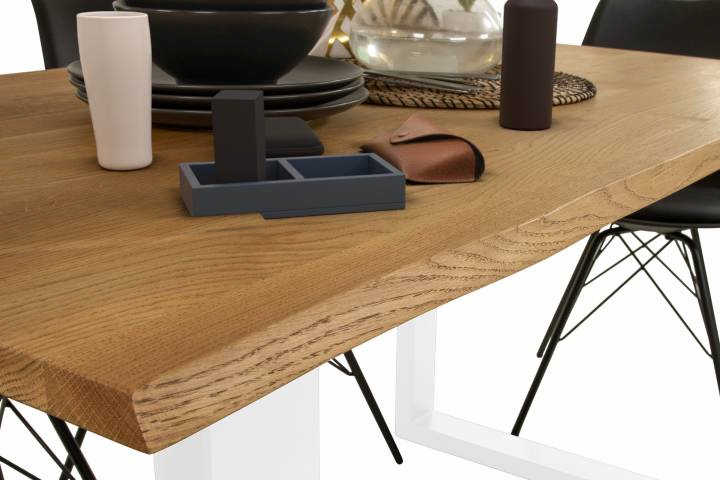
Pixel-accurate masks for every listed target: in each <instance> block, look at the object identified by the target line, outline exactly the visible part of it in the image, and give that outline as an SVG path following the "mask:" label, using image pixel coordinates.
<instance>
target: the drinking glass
mask: <svg viewBox="0 0 720 480" xmlns="http://www.w3.org/2000/svg"><path fill="white" fill-rule="evenodd" d="M76 29H77V42H78V43H77V44H78V52H79V59H80V65H81V70H82V76H83V81H84V87H85V91H86V96H87V102H88V108H89V113H90V119H91V123H92V129H93V134H94V140H95V147H96V157H97V163H98V165H99V166H100V167H102V168H104V169H106V170H110V171H111V170H112V171H133V170H140V169H144V168H147V167H148V166H150V165H151V164H152V162H153V157H154V156H153V146H152V145H153V144H152V105H153V103H152V102H153V101H152V100H153V99H152V97H153V95H152V93H153V92H152V91H153V90H152V89H153V87H152V85H153V55H152V38H151V30H150V22H149V15H148V13H145V12H138V11H87V12H80V13H77V14H76Z"/></svg>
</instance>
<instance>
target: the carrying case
mask: <svg viewBox="0 0 720 480" xmlns="http://www.w3.org/2000/svg"><path fill="white" fill-rule="evenodd" d="M264 124H265V149H266V159H270V158H288V157H307V156H324V154H325V146H324V144H323V142H322V141H321V139H320V138H319V137H318V136H317V135H316V133H315V132H314V131H313V130H312V128H311V127H310V126H309V125H308V123H307V122H306V121H305V120H304V119H303V118H301V117H297V116H274V117H269V116H268V117H264Z"/></svg>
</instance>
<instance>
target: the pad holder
mask: <svg viewBox="0 0 720 480" xmlns="http://www.w3.org/2000/svg"><path fill="white" fill-rule="evenodd" d="M266 173H267V181H262V182H246V183H230V184H216V174H215V160H214V161H199V162H198V161H197V162H196V161H195V162H180V163H178V175H179V189H180V198H181V199H182V201H183V204H184V205H185V207H186V209H187V211H188V213H189V215H190V217H194V218H201V217H215V216H229V215H242V214H256V213H259V214H260V216H261V217H262V219H264V220H269V219H270V220H271V219H283V218H297V217H309V216H323V215H336V214H348V213H349V214H351V213H352V214H353V213H365V212H376V211H390V210H403V209H404V210H405V209H406V179H405V176H406V175H405V174H404V173H402V172H401V171H399V170H398V169H396V168H395V167H394V166H392V165H391V164H389V163H388V162H386V161H385V160H383V159H382V158H381V157H379V156H378V155H376V154H375V153H368V152H364V153H345V154H329V155H326V154H325V155H321V156H307V157H288V158H270V159H266Z"/></svg>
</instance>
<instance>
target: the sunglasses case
mask: <svg viewBox="0 0 720 480" xmlns="http://www.w3.org/2000/svg"><path fill="white" fill-rule="evenodd" d="M358 149H360V150H362V151H365V153H375V154H376V155H378V156H379V157H381V158H382V159H383V160H385V161H386V162H388V163H389V164H391V165H392V166H394V167H395V168H396V169H398V170H399V171H401V172H402V173H404V174H405V175H406V176H405V181H411V182H414V183H427V184H439V185H440V184H457V183H462V184H463V183H474V182H476V181H478V179H480V178H481V177H482V176H483V174H484V173H485V170H486V160H485V157H484V155H483V153H482V151H481V150H480V149H479V147H478V146H477V145H476V144H475V143H473V142H472V141H471V140H469V139H467V138H466V137H463V136H461V135H457V134H455V133H453V132H451V131H449V130H448V129H446V128H445V127H442V126H440V125H439V124H436V123H434V122H432V121H430V120H427V119H425V118H424V117H422V116H421V115H420V114H419V113H418V112H414V113H413V114H411V115H410V116H409V117H408V118H407V119H406V120H405V121H404V122H403V123H401V124H399V125H396V126H395V127H393V128H390V129H388V130H386V131H385V132H382V133H380V134H378V135H377V136H374V137H372V138H370V139H368V140H367V141H365V142H363V143H362V144H359V146H358Z"/></svg>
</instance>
